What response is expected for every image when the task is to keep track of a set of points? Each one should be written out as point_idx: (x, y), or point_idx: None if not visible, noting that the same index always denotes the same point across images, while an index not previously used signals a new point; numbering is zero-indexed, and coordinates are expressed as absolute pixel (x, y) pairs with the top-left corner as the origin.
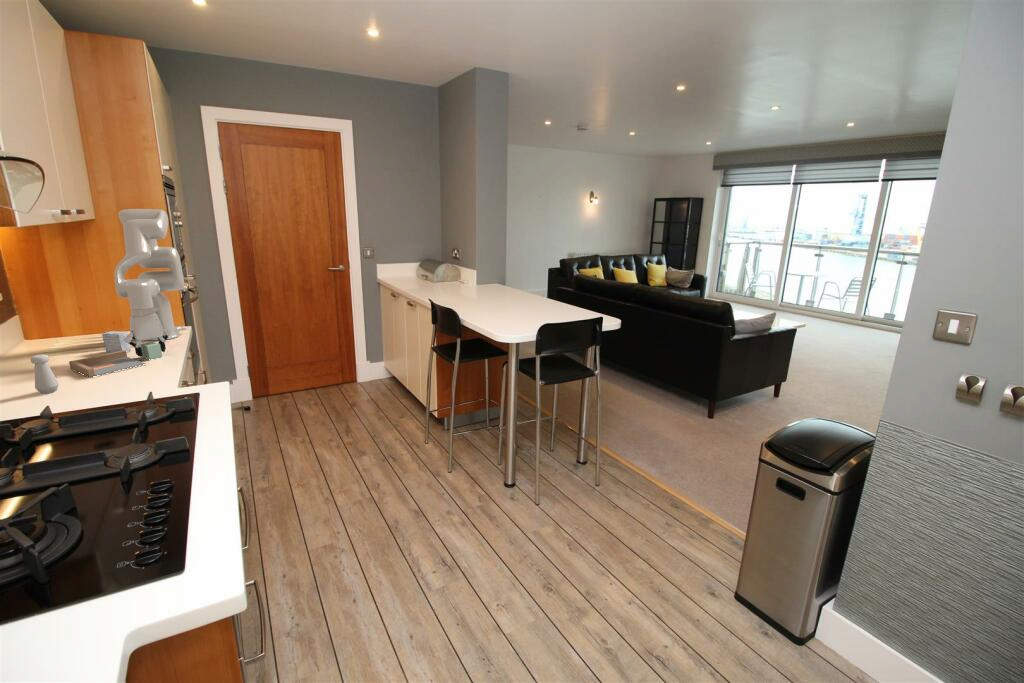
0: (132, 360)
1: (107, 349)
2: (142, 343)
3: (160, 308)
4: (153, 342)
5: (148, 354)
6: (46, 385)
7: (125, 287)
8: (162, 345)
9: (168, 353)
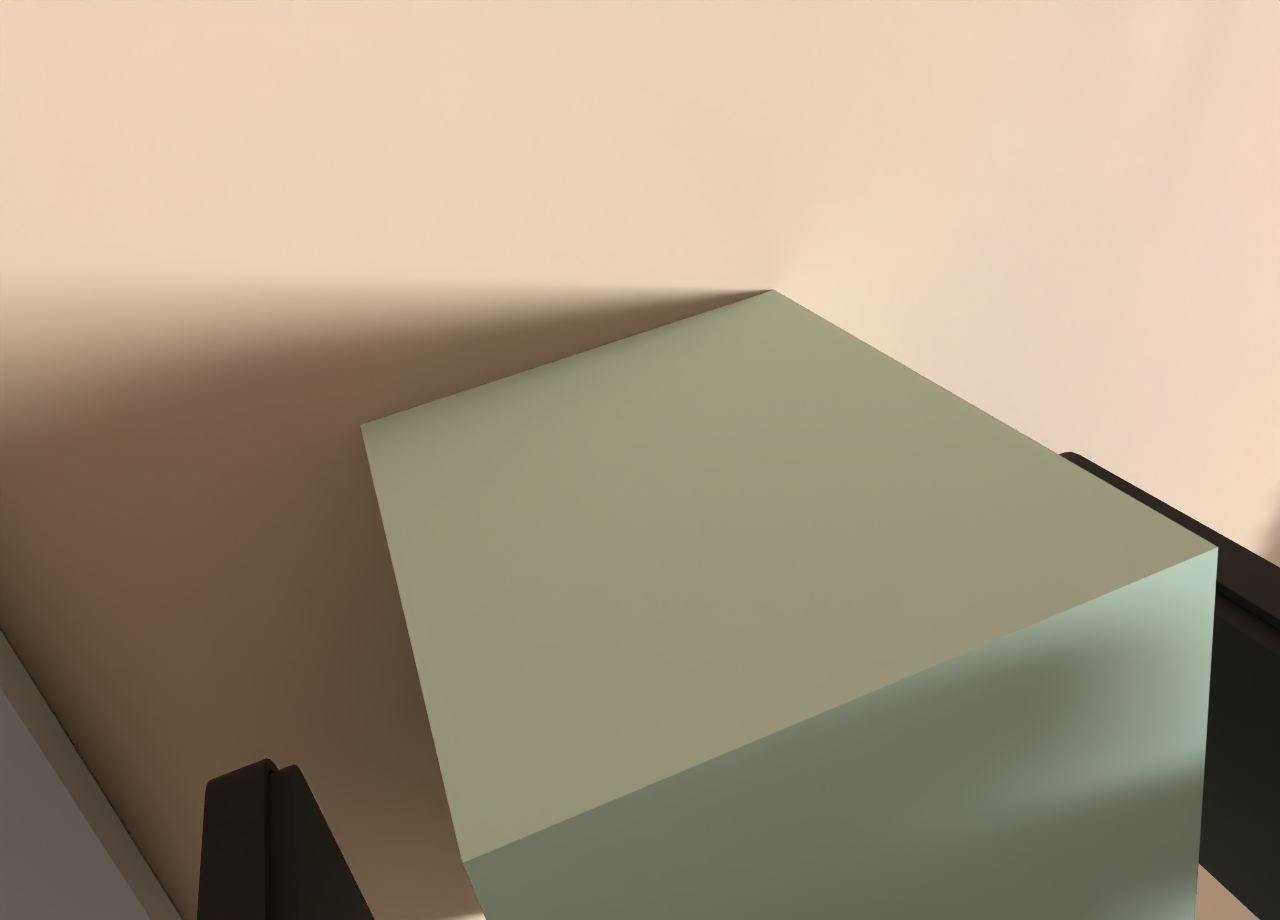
0: (13, 914)
1: None
2: (658, 812)
3: None
4: (1155, 852)
5: None
6: None
7: None
8: (1214, 863)
9: (1101, 391)
